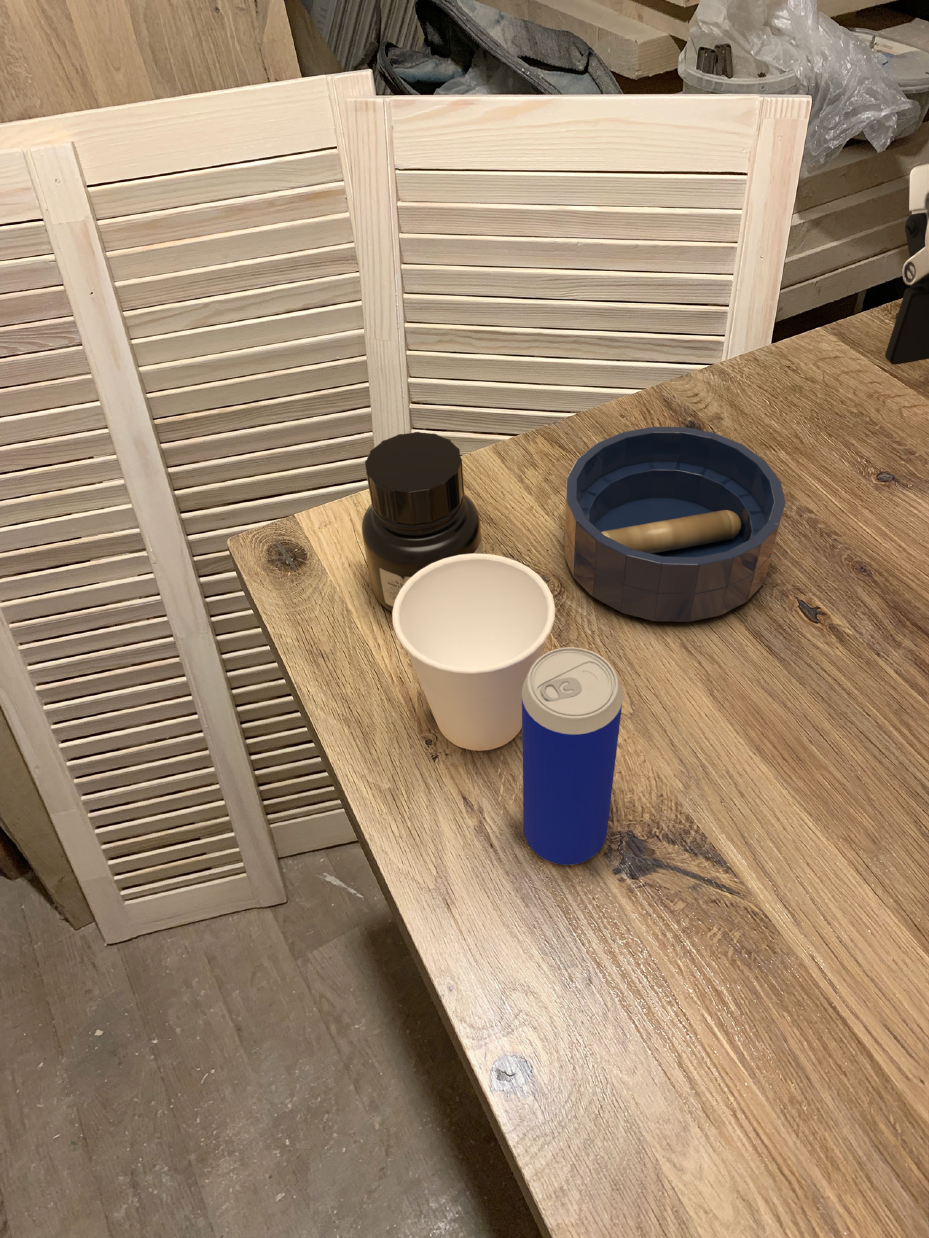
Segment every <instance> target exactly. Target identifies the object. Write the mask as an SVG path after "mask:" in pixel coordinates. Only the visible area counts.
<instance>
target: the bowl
mask: <svg viewBox="0 0 929 1238" xmlns="http://www.w3.org/2000/svg"><path fill="white" fill-rule="evenodd" d="M565 482H566V484H565V509H564V510H565V514H564V515H565V516H564V543H563V545H564V546H563V556H564V559H565V561H566V563H567V565H568V568H569V570H570V572H571V575H572V577H573V579H574V580H575V581H576V582H577V583H578V584H579V585H580V586H581V587H582V588H583V589H584V590H585V591H586V592H587V593H588V594H589V595H590V596H591V597H593V598H594V599H595V600H597V601H599V602H601V603H602V604H605V605H607V606H609V607H610V608H612V609H614V610H616V611H617V612H620V613H622V614H625V615H629V616H632V617H637V618H641V619H645V620H648V621H651V622H672V623H673V622H674V623H675V622H676V623H690V622H691V623H692V622H695V621H700V620H701V621H702V620H705V619H710V618H714V617H719V616H722V615H725V614H727V613H728V612H730V611H732V610H734V609H736V608H738V607H739V606H742V605H743V604H745V603H747V602H748V601H749V600H750V599H751V598H752V597H753V596H754V595H755V594H756V592H758V590H759V589H760V588H761V587H762V586H763V585H764V583H765V581H766V578H767V575H768V572H769V569H770V565H771V562H772V558H773V554H774V550H775V546H776V542H777V539H778V535H779V530H780V527H781V523H782V519H783V515H784V512H785V508H786V499H785V494H784V489H783V485H782V481H781V479H779V477H778V475H777V474H776V473H775V471H774V470H773V469H772V468H771V466H770V464H768V462H767V461H766V459H764V458H762V457H761V456H759V455H758V454H757V453H755V452H754V451H752V450H751V449H750V448H749V447H747V446H746V445H744V444H743V443H740V442H738V441H735V440H733V439H730V438H728V437H725V436H723V435H721V434H718V433H715V432H712V431H706V430H702V429H695V428H690V427H687V426H648V427H643V428H637V429H633V430H627V431H622V432H619V433H618V434H614V435H613V436H610V437H607V438H605V439H603V440H601V441H598V442H597V443H595V444H593V445H592V446H591V447H590V448H588V450H586V451H585V452H584V453H583V454H581V455H580V456H579V457H578V458H577V459H576V460H575V462H574V464H573V466H572V468H571V470H570V472H569V473H568V475H567V477H566V481H565ZM721 510H730V511H733V512H734V513H736V514H737V515H738V516H739V518H740V520H741V529H740V532H739V533H738V535H737V536H735V537H734V538H732V539H730V540H726V541H720V542H715V543H709V544H704V545H698V546H692V547H687V548H681V549H676V550H670V551H665V552H659V553H654V554H650V553H646V552H642V551H638V550H634V549H630V548H629V547H627V546H625V545H623V544H621V543H619V542H617V541H615V540H613V539H611V538H609V537H607V536H605V535H603V534H602V533H601V532H603V531H608V530H613V529H619V528H625V527H630V526H636V525H642V524H647V523H653V522H659V521H664V520H670V519H676V518H681V517H687V516H693V515H699V514H704V513H710V512H716V511H721Z"/></svg>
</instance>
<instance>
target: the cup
mask: <svg viewBox="0 0 929 1238" xmlns="http://www.w3.org/2000/svg"><path fill="white" fill-rule="evenodd" d="M391 617H392V627H393V630H394V634H395V637H396V638H397V640H398V641H399V643H400V644H401V646H402V647H403V648H404V650H405V651H406V653H407V656H408V658H409V660H410V663H411V665H412V667H413V670H414V672H415V674H416V676H417V679H418V681H419V684H420V687H421V690H422V691H423V694H424V696H425V699H426V701H427V703H428V705H429V707H430V710H431V712H432V715H433V718H434V720H435V722H436V725H437V727H438V729H439V731H440V732H441V734H442V736H444V737H445V739H447V741H449V742H451V743H452V744H453V745H455V746H457V747H460V748H461V749H465V750H470V751H479V752H480V751H482V752H483V751H491V750H493V749H497V748H500V747H502V746H504V745H506V744H508V743H510V742H511V741H513V739H515V737H516V736H517V735H518V734H519V733H520V732H521V731H522V687H523V683H524V681H525V678H526V676H527V675H528V673H529V671H530V669H531V667H532V665H533V664H534V663H535V661H536V660H537V659H538V658H540V657H541V656H542V655H543V653H544V649H545V646H546V642H547V639H548V638H549V636H550V634H551V632H552V629H553V627H554V624H555V620H556V604H555V601H554V596H553V593H552V592H551V590H550V588H549V585H548V584H547V583H546V582H545V581H544V579H543V578H542V577H541V576H540V574H538V573H536V572H535V570H533V569H532V568H530V567H529V566H527V565H525V564H523V563H521V562H520V561H517V560H515V559H512V558H508V557H506V556H502V555H496V554H493V553H483V554H475V553H473V554H463V555H457V556H452V557H448V558H444V559H442V560H439V561H437V562H434V563H432V564H430V565H428V566H426V567H425V568H423V569H421V570H419V571H418V572H417V573H416V574H415V575H413V576H412V577H411V578H410V579H409V580H408V581H407V582H406V583H405V585H404V586H403V587H402V588H401V589H400V591H399V593H398V595H397V597H396V599H395V602H394V607H393V611H392V612H391Z"/></svg>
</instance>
